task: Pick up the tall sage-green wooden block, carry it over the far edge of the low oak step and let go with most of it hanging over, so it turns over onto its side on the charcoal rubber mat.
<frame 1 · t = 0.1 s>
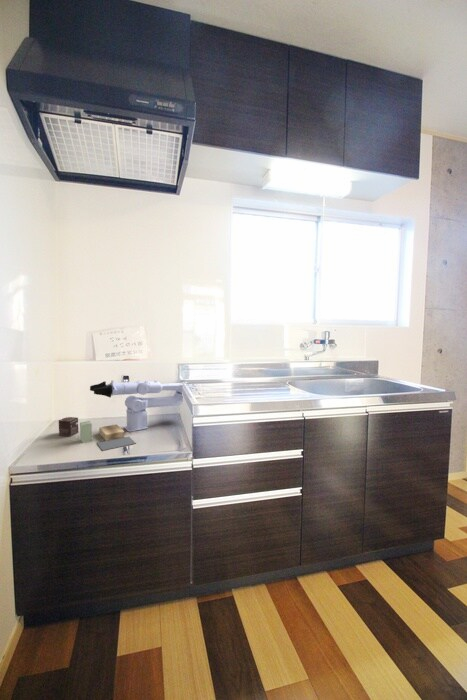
hand: (92, 389, 151), 22 cm above the worktop, tool horizontal, fingers open, 7 cm apart
step: (111, 435, 154), on the worktop
mat: (116, 443, 145), on the worktop
block: (86, 440, 148), on the worktop
box: (69, 434, 156), on the worktop
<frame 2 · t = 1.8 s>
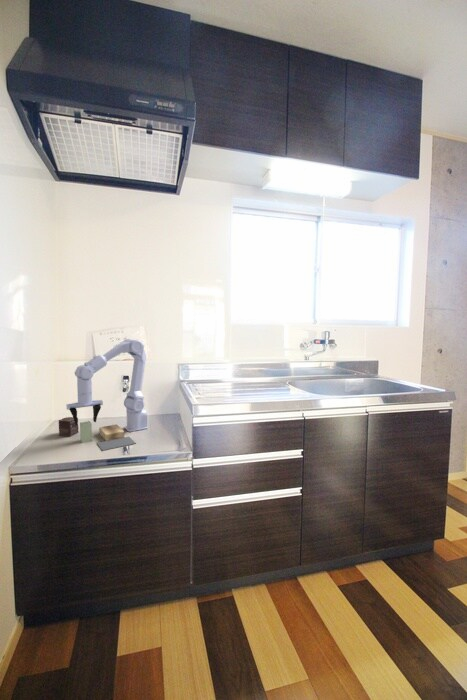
hand: (85, 423, 147), 8 cm above the worktop, tool pointing down, fingers open, 7 cm apart
nothing on the worktop moved.
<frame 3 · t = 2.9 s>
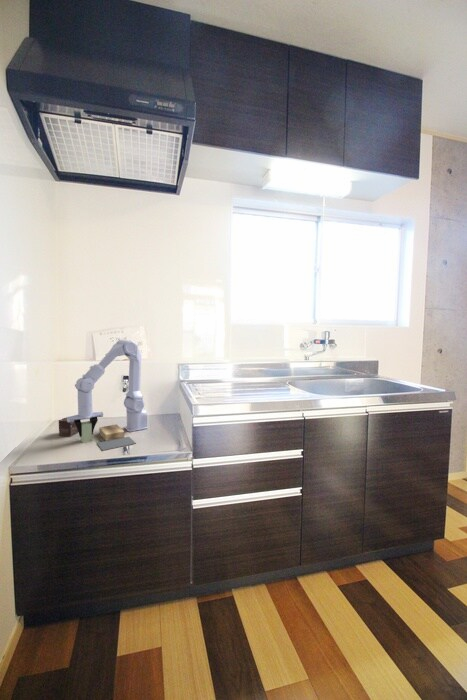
hand: (86, 435, 148), 2 cm above the worktop, tool pointing down, fingers closed on block, 4 cm apart
block: (86, 440, 148), on the worktop, touching gripper
everything else where it was.
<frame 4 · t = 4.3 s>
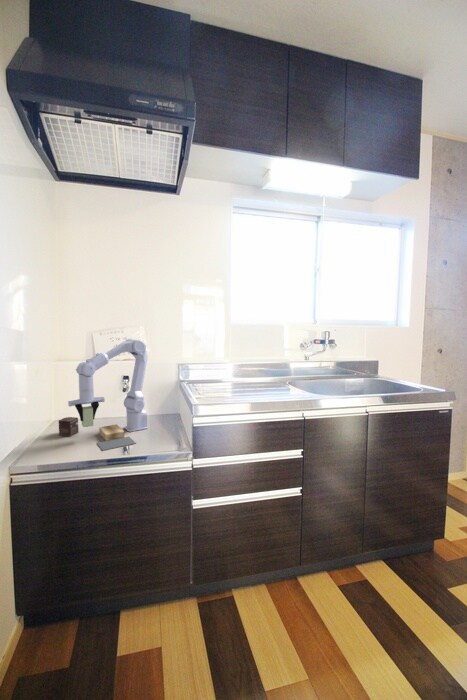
hand: (87, 419, 147), 9 cm above the worktop, tool pointing down, fingers closed on block, 4 cm apart
block: (87, 425, 147), point 7 cm above the worktop, touching gripper
everything else where it was.
when the fingers open (6 cm above the worktop, at t = 6.0 s): block drops 2 cm and tips over, resting on mat.
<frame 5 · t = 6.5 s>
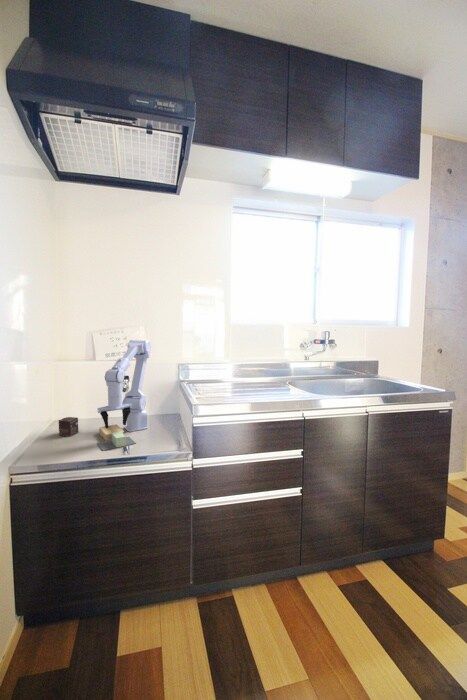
hand: (115, 426, 148), 6 cm above the worktop, tool pointing down, fingers open, 7 cm apart
block: (116, 436, 147), point 2 cm above the worktop, tilted 90°, touching mat
everything else where it was.
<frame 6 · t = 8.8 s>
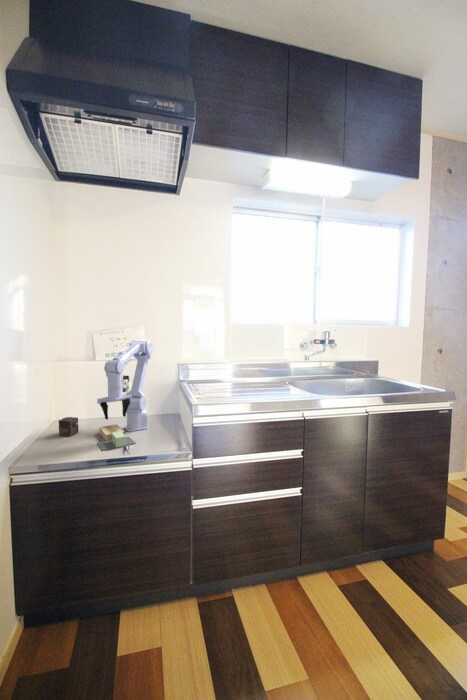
hand: (115, 417, 148), 10 cm above the worktop, tool pointing down, fingers open, 7 cm apart
nothing on the worktop moved.
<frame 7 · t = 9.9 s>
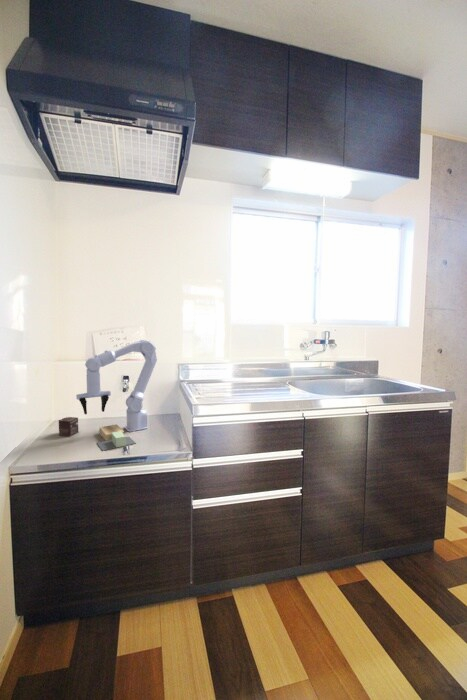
hand: (94, 412, 155), 10 cm above the worktop, tool pointing down, fingers open, 7 cm apart
nothing on the worktop moved.
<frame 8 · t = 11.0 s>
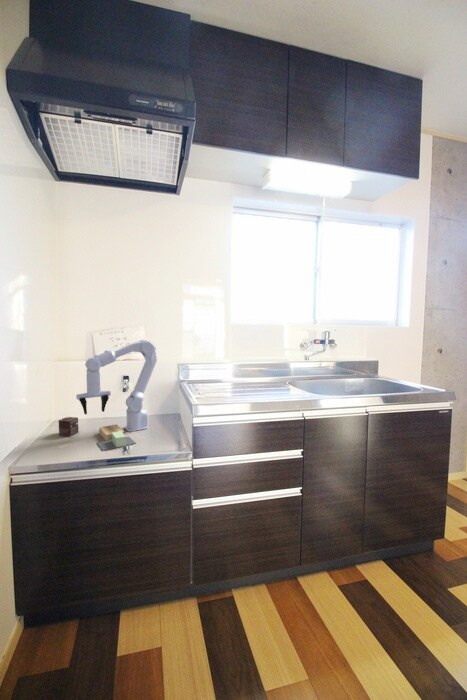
hand: (94, 412, 155), 10 cm above the worktop, tool pointing down, fingers open, 7 cm apart
nothing on the worktop moved.
at the end: block tilted 90°; block inside the target area (2.7 cm from its centre), point 2.3 cm above the worktop; the gripper is holding nothing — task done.
